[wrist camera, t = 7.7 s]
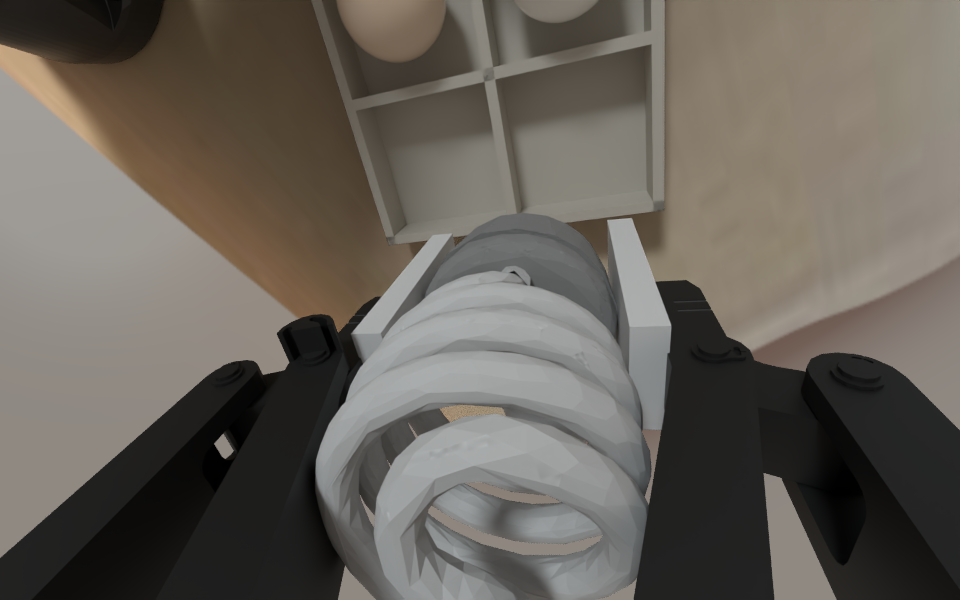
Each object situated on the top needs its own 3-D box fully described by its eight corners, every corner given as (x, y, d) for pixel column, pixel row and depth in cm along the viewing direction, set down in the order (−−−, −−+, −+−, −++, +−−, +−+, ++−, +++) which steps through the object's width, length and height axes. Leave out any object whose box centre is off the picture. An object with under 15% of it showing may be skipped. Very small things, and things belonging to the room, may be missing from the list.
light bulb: (612, 318, 16) (676, 755, 6) (472, 324, 18) (330, 686, 7) (608, 170, 14) (709, 492, 3) (445, 191, 15) (167, 462, 5)
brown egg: (380, 71, 26) (337, 74, 21) (350, -40, 24) (294, -65, 19) (466, 50, 25) (441, 47, 20) (444, -70, 22) (408, -107, 17)
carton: (403, 230, 32) (388, 245, 29) (316, -67, 24) (284, -84, 21) (655, 195, 27) (664, 210, 25) (652, -188, 19) (665, -228, 16)
